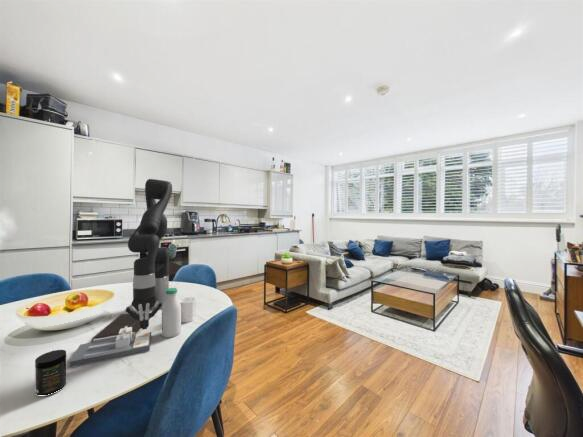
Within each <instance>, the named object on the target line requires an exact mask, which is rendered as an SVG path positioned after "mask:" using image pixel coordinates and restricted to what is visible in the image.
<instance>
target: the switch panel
mask: <svg viewBox="0 0 583 437" xmlns="http://www.w3.org/2000/svg"><path fill="white" fill-rule="evenodd" d="M117 336H118V335H116V336H110V337H105V338H99V339H93V342H92V341H91V342H87V343H81V344H79V346H78V348H77V349H76V351H75V352H74V353H73V355H72V357H71V358H70V360H69V362H68V367H69V368H73V367H78V366H83V365H88V364H92V363H93V364H94V363H97V362H103V361H107V360H112V359H116V358H121V357H126V356H132V355H135V354H136V355H137V354H140V353H141V354H142V353H145V352H149V351H150V350H151V348H150V347H151V342H152V331H147V332H143V333H142V332H141V333H138V334H136V335H135V332H133V333H132V338H131V339H130V344H129V347H124V348H119V349H116V344H115V341H116V338H117Z"/></svg>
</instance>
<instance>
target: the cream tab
mask: <svg viewBox="0 0 583 437" xmlns="http://www.w3.org/2000/svg"><path fill="white" fill-rule="evenodd" d="M122 333H125V334H130V339H131V338H132V327H128V328H127V326H125V328H122V329H120V331H119V335H122Z"/></svg>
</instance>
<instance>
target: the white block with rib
mask: <svg viewBox="0 0 583 437" xmlns="http://www.w3.org/2000/svg"><path fill="white" fill-rule="evenodd" d="M115 344H116V349H119V348H124V347H129V344H130V334H125V333H122V335H118V336H117V338H116V341H115Z"/></svg>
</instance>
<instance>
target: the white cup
mask: <svg viewBox="0 0 583 437" xmlns="http://www.w3.org/2000/svg"><path fill="white" fill-rule="evenodd" d="M178 300H179V302H180V305H181V323H190V322H192V321H194V320H195V317H196V315H195V314H196V303H197V302H196V301H197V299H196V297H192V296H190V297H189V296H188V297H183V298H179V299H178Z"/></svg>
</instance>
